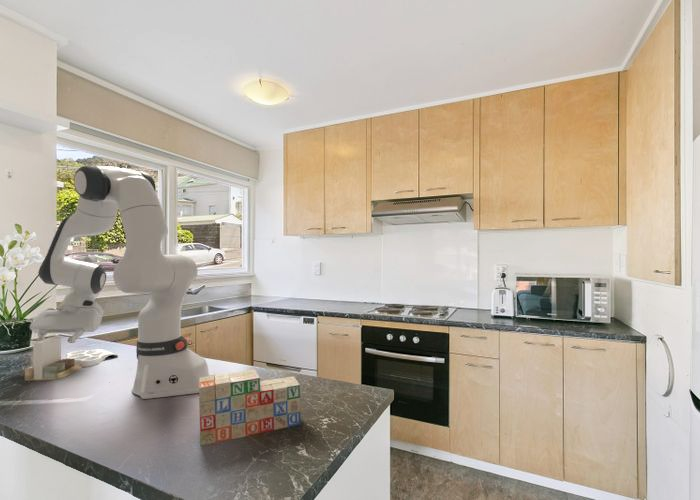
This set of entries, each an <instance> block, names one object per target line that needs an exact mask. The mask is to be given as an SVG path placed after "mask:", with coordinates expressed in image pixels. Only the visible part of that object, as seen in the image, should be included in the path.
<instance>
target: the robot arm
mask: <svg viewBox="0 0 700 500" xmlns="http://www.w3.org/2000/svg"><path fill="white" fill-rule="evenodd" d="M73 185H74V189H75V192H76V193H77V194H78V196H79V197H78V200H77V205H76V209H75V212H74V213H73V214H72V215H70V216H66V217H64V218H63V219H62V221H61V222H60V223H59V225H58V227H57V229H56V231H55V233H54V236H53V239H52V241H51V244H50V246H49V248H48V251H47V253H46V255H45V257H44V260H42V263H41V265H40V266H39V268H38V272H37V273H38V277H39V278H40V280H41V281H42V282H43V283H44V284H47V285H52V286H54V285H55V286H62V287H67V288H70V290H69V292H68V293H67V294H66V295H65V296H64V298H63V299H62V301H61V303H60V305H59V306H58V307H55V308H47V309H44V310H42V311H40V313H39V314H38V315H37V316H36V317H35V318H34V319H33V321H32V322H31V323H30V324H29V329H30V331H32V332H33V333H34V334H37V336H38V338H37V339H36V342H39V341H42V340H45V339H46V336H47V335H48V334H62V333H64V334H65V333H67V334H68V333H70V334H71V333H73V334H72V335H70V336H68V338H67V343H69V344H74V343H76V340H77V339H79V338H80V337H82V336H83V334H84V333H93V332H95V331H97V330H98V329H99V328H100V325H101V323H102V318H103V317H102V316H103V315H104V313H105V311H104V310H103V308H102V306H100V304H99V303H98V302H97V301H95V300H96V299H97V298H98V297H99V295H100V293H101V291H102V289H104V286H105V284H106V281H107V272H106V271H105V269H104V268H103V267H102V266H101V265H99V264H95V263H92V262H88V261H83V260H82V261H81V260H77V259H73V258H70V257H67V256H66V251H67V249H68V246H69V244H70V242H71V240H72V239H74V238H77V237H93V236H100V235H102V234H105V233H107V232H110V230H112V228H113V227H114V225H115V223H116V221H117V216H118V212H119V215H120V219H121V223H122V226H123V231H124V235H125V241H126V242H125V251H124V253H123V256H122V257H121V259H120V260H118V262H117V263H116V264H115V266H114V269H113V274H112V278H113V282H114V284H115V286H116V287H117V289H118V290H120V291H121V292H122V293H125V294H135V295H145V294H151V295H150V297H149V300H148V301H147V304H146V305H145V306H144V307H143V308H142V309H141V310H140V311H139V313H138V315H137V328H138V329H137V331H138V333H137V337H138V339H137V341H136V349H135V350H136V353H135V354H136V360H137V366H136V373H135V379H134V382H133V386H132V389H131V391H132V393H133V394H134V395H137V396H140V398H141V399H142V400H148V399H157V398H165V397H167V398H168V397H173V396H175V397H176V396H184V395H191V394H199V380H200V378H201V377H208V376H216V373H214V372H209V367H208V366H209V365H208V362H207V361H206V359H205V358H204V357H202V356H200V355H199V354H197V353H196V352H194V351H192V350H191V349H190V348H188V342H190V340H189V339H190V337H187V338H185V337H183V336H182V335H181V332H182V331H181V329H182V328H181V324H182V323H181V321H182V319H181V318H182V310H183V309H182V308H183V305H184V304H183V303H184V300H185V297H186V294H187V293H188V291H189V288H190V286H191V285H192V284H193V283H194V282H196V279H197V276H198V265H197V264H196V262H195V260H194V259H192V258H191V257H189V256H186V255H182V254H175V253H174V254H163V253H162V248H161V245H162V241H163V240H164V239H165V238H166V237H167V236H168V234H169V230H168V226H167V222H166V219H165V215H164V212H163V207H162V205H161V202H160V200H159V197H158V193H156V189H157V187H156V183H155V180H154V178H153V177H152V176H151V174H149V173H147V172H144V171H140V170H132V169H128V168H120V167H116V166H101V165H100V166H99V165H98V166H97V165H92V164H91V165H84V166H80V167H79V168H78V169H77V170H76V172H75V173H74V177H73ZM36 342H35V343H36Z"/></svg>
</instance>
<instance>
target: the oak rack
mask: <svg viewBox="0 0 700 500" xmlns="http://www.w3.org/2000/svg"><path fill="white" fill-rule="evenodd" d="M81 369H83V367H82V364H77V365H75V366H73V367H71V368H69V369H67V370H65V371H62V372H60V373H58V374H57V378H54V379H44V378H43V379H34V364H33V365H31V366H29V367H26V368H25V369H24V381H29V382H30V381H48V380H51V381H52V380H61V379H63V378H65V377H67V376H69V375H71V374H73V373H75V372H78V371H79V370H81Z"/></svg>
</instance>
